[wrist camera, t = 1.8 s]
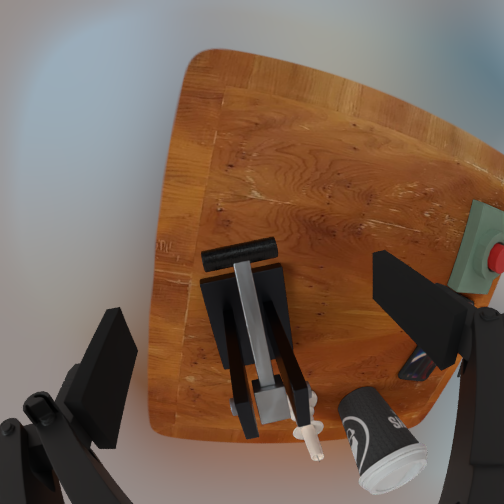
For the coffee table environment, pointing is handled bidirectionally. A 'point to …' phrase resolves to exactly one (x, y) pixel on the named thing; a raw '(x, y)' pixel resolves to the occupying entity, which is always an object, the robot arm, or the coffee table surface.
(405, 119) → the coffee table surface
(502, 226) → the button box
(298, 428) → the candle
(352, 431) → the coffee cup
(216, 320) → the bracket
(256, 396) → the lever
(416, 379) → the smartphone
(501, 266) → the button
